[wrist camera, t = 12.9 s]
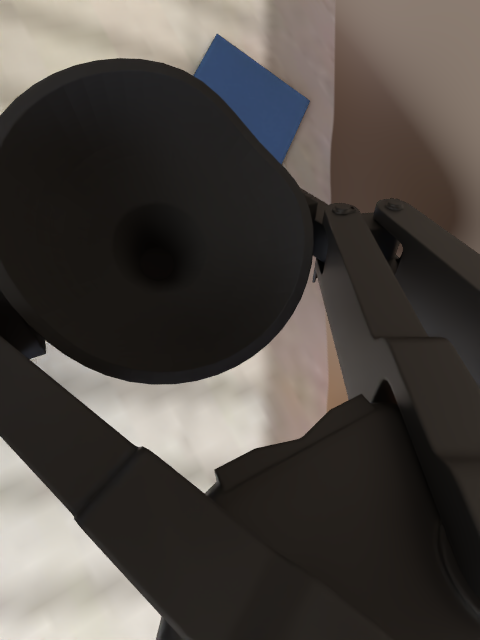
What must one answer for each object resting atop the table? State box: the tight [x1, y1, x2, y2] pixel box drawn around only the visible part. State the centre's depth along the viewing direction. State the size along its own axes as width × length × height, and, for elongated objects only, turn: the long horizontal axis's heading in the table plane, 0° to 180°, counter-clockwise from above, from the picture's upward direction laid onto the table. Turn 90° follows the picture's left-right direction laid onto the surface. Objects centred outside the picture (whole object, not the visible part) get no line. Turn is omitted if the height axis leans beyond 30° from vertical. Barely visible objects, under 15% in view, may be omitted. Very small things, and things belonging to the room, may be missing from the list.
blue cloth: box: [194, 34, 310, 165], centre depth 34 cm, size 12×20×1 cm, turn 156°
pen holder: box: [0, 58, 314, 384], centre depth 14 cm, size 9×9×10 cm
